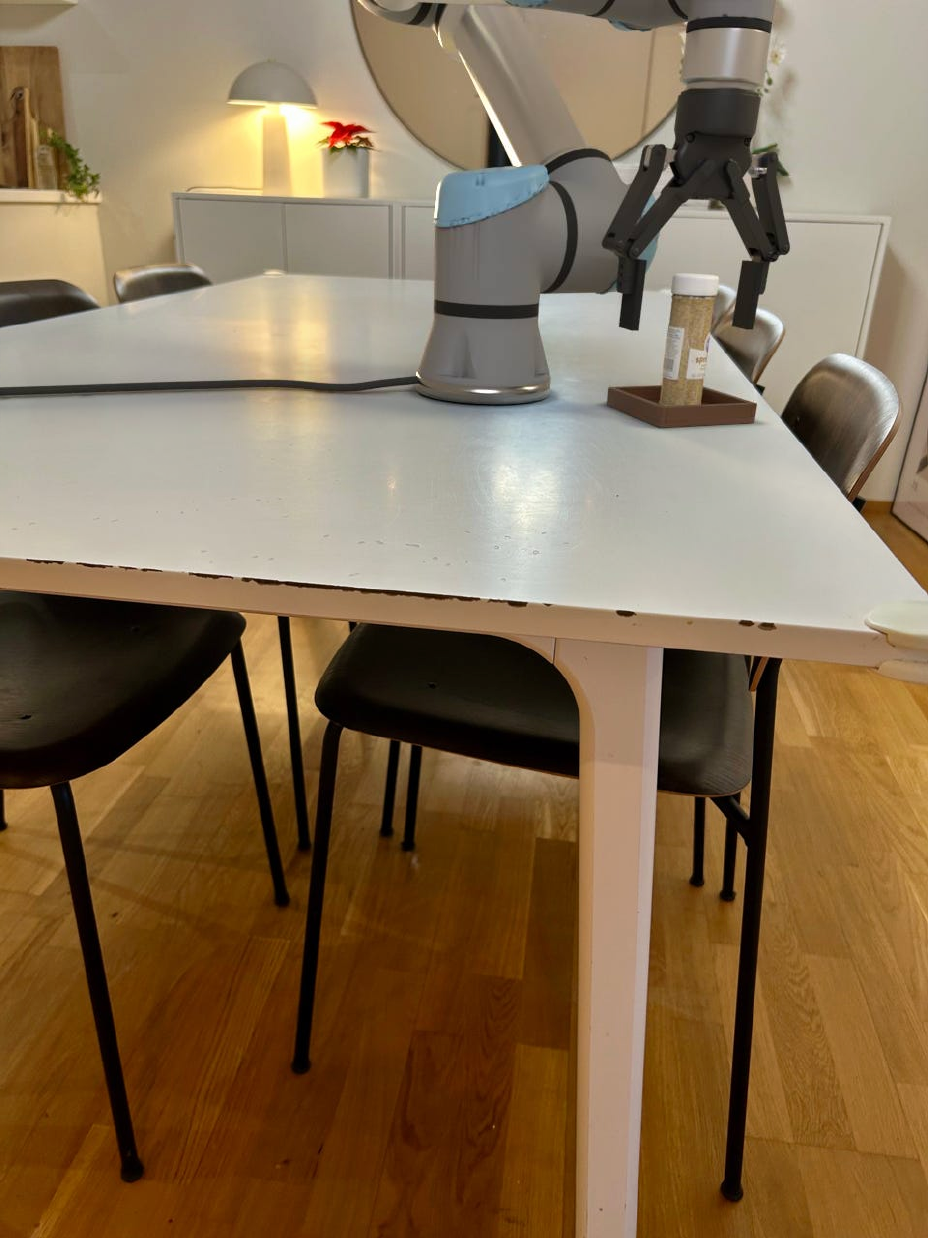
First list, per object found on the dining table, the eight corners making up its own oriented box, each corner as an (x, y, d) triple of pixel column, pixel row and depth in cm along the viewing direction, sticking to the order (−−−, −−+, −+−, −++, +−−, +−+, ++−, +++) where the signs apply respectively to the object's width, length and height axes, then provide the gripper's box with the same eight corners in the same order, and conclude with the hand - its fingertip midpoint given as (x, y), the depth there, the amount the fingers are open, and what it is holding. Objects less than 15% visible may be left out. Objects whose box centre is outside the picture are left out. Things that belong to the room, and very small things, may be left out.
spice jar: (703, 414, 93) (723, 276, 88) (659, 412, 94) (676, 274, 88) (697, 406, 98) (716, 273, 92) (655, 403, 98) (670, 271, 92)
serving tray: (659, 427, 89) (662, 407, 89) (606, 405, 99) (608, 386, 98) (754, 422, 93) (757, 403, 92) (693, 401, 103) (696, 383, 102)
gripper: (803, 102, 91) (764, 322, 100) (581, 82, 83) (561, 323, 92) (856, 96, 84) (809, 332, 93) (621, 74, 76) (595, 334, 85)
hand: (686, 328), depth 93 cm, fingers open, 13 cm apart
